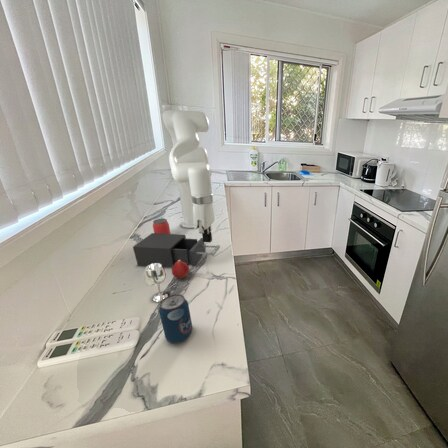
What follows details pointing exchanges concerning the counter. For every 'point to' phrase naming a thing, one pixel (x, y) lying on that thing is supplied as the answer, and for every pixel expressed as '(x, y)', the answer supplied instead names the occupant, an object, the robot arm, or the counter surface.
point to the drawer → (191, 251)
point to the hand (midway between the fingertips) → (207, 241)
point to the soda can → (175, 318)
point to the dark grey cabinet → (157, 249)
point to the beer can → (161, 226)
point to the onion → (180, 269)
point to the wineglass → (156, 279)
